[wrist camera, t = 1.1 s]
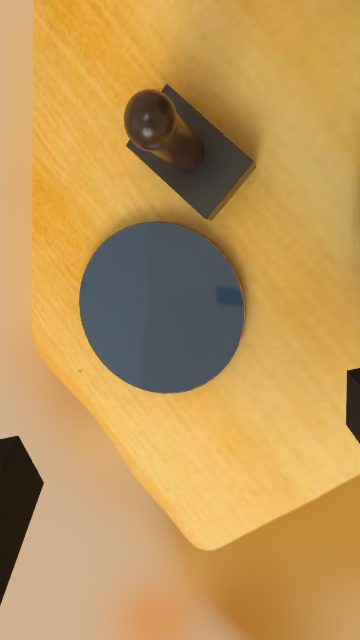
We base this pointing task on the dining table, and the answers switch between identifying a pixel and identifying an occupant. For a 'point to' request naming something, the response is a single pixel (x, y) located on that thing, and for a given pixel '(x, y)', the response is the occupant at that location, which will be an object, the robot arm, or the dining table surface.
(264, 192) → the dining table surface
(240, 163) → the stamp
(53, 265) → the dining table surface
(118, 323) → the plate
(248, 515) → the dining table surface
